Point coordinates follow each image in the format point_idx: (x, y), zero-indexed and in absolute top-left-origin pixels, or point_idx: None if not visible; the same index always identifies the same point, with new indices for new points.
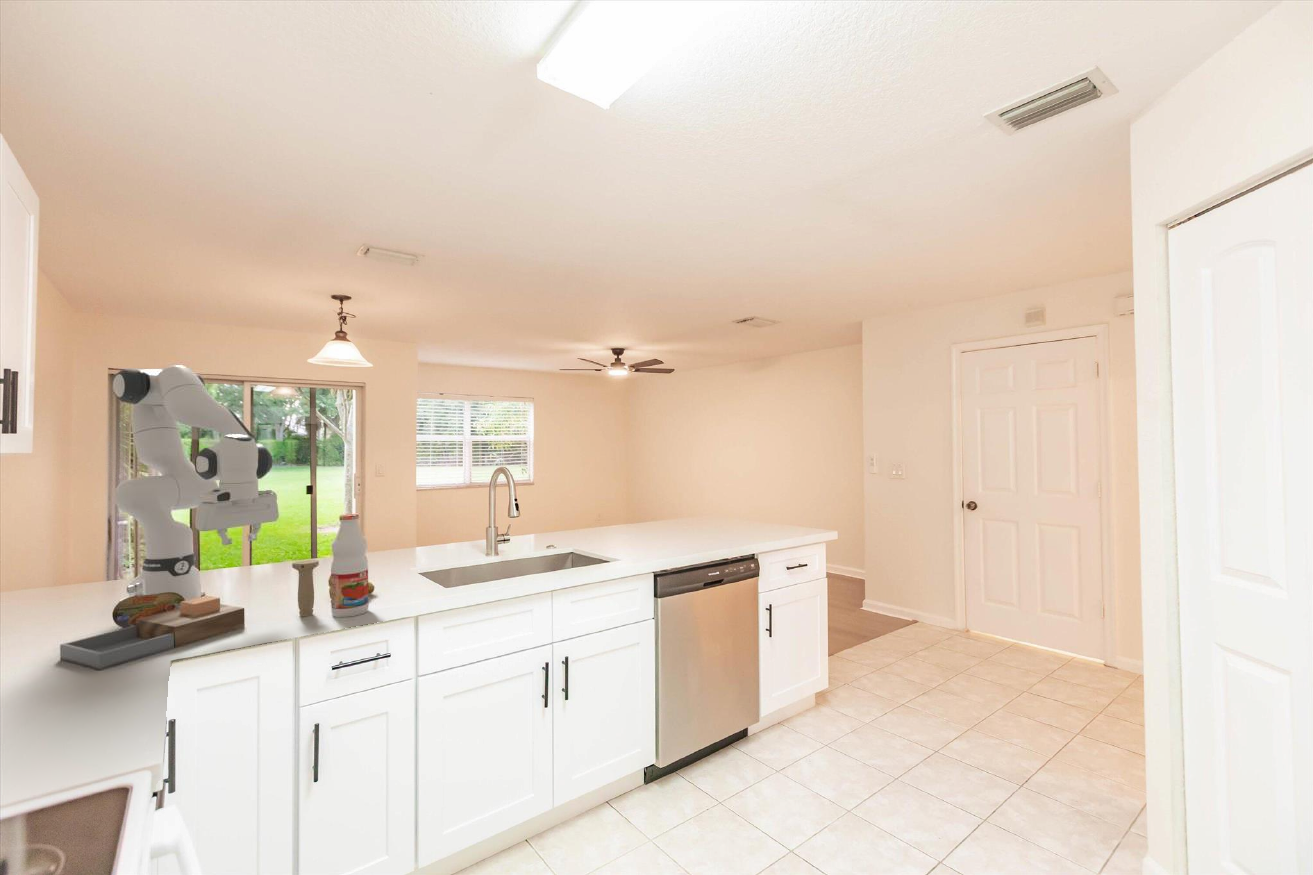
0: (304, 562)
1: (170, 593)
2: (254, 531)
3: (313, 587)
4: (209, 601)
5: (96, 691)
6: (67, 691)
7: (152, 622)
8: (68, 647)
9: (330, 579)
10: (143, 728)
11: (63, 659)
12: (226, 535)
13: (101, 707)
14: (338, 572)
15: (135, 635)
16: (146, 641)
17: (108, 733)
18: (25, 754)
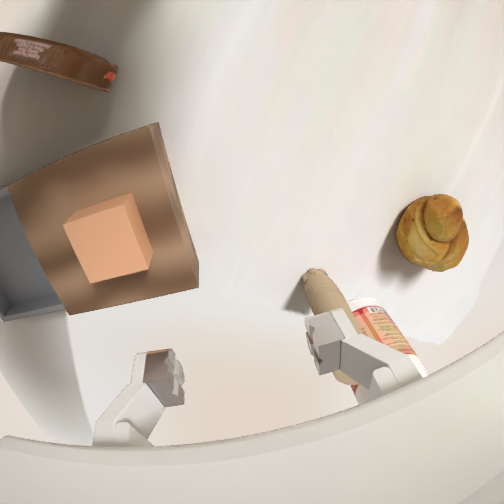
0: None
1: (61, 72)
2: (355, 371)
3: None
4: (123, 274)
5: (32, 365)
6: (8, 344)
7: (31, 246)
8: None
9: (435, 221)
10: (87, 435)
11: None
12: (152, 427)
13: (50, 397)
14: (357, 400)
15: None
16: (41, 313)
17: (69, 428)
18: (35, 417)
